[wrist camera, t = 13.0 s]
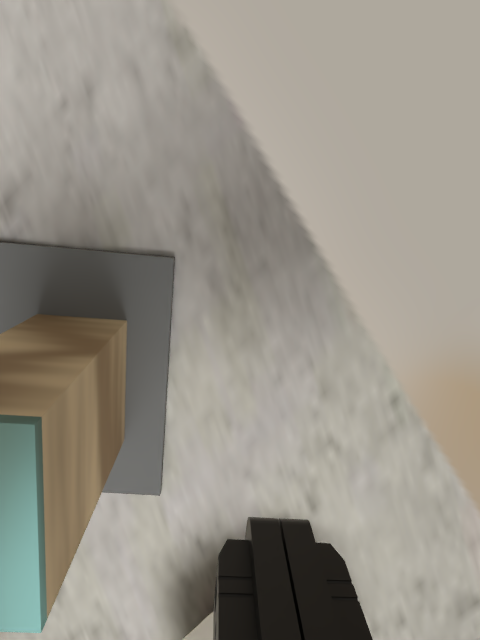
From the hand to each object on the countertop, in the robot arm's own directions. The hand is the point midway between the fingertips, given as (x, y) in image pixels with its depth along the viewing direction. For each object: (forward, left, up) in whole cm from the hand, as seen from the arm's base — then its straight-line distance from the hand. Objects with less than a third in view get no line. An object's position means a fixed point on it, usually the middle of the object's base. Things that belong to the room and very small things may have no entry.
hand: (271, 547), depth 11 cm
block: (+8, 0, -10) cm, 13 cm away
